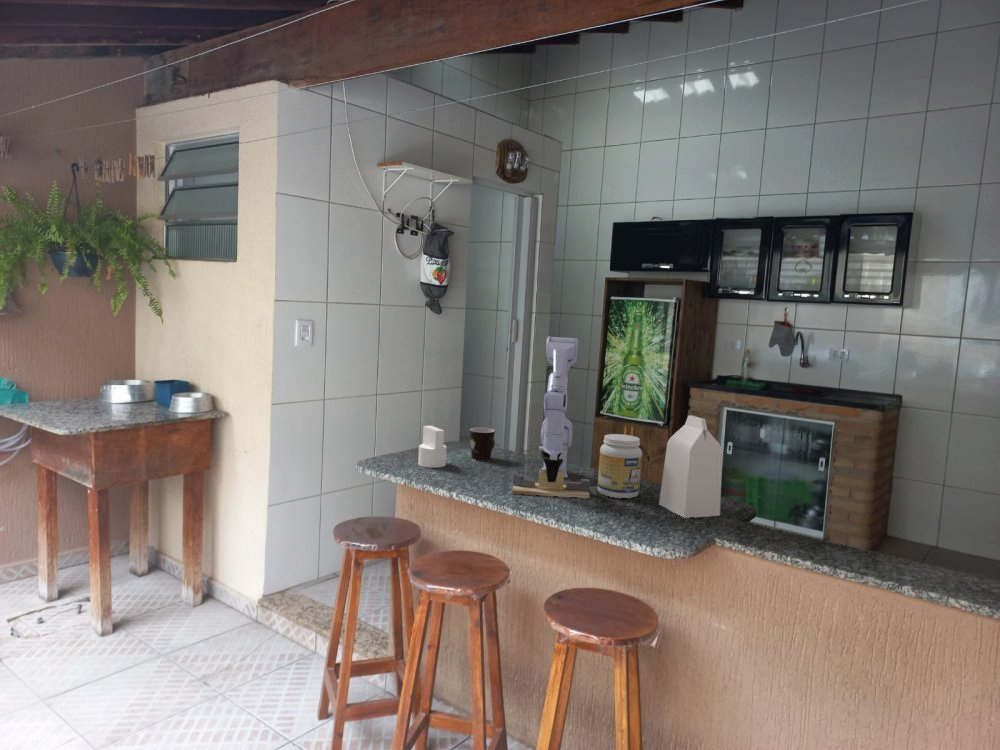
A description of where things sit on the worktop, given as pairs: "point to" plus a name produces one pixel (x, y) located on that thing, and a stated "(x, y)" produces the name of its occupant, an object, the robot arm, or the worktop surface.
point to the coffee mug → (481, 443)
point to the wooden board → (549, 492)
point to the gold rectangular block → (550, 485)
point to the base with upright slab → (432, 448)
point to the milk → (692, 471)
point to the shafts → (577, 486)
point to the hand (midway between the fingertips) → (551, 478)
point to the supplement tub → (620, 466)
